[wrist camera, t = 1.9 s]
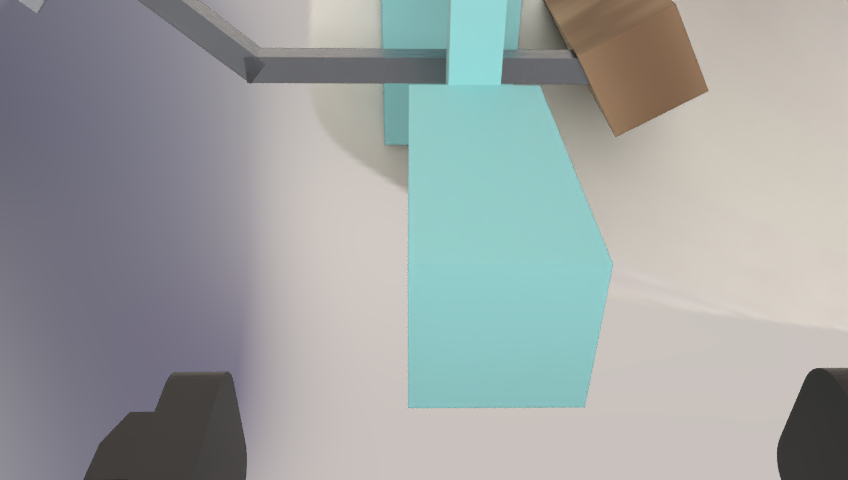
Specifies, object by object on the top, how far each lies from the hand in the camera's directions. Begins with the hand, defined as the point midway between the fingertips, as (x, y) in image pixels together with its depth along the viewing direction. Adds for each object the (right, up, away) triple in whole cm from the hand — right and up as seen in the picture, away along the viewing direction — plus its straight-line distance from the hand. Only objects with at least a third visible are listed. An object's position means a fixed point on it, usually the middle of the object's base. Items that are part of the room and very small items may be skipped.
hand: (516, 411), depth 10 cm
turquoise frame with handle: (0, +11, +16) cm, 20 cm away
